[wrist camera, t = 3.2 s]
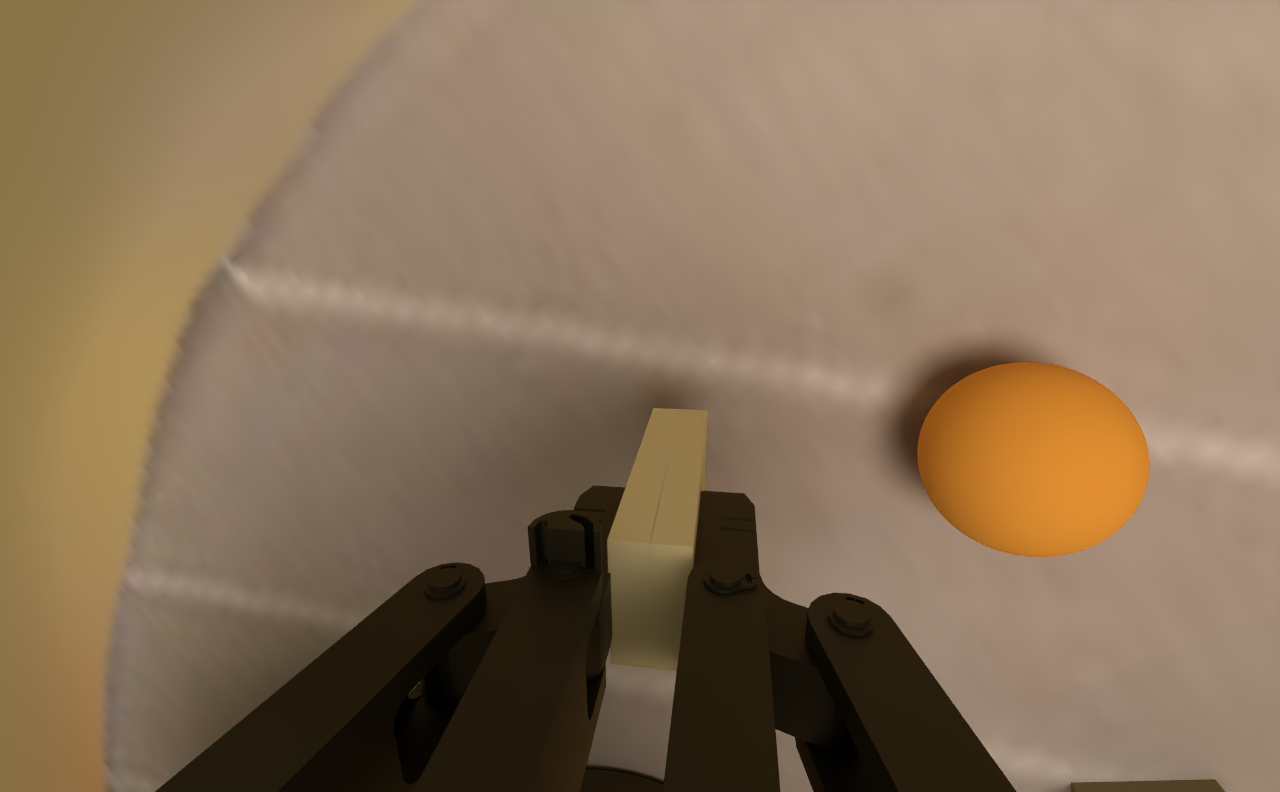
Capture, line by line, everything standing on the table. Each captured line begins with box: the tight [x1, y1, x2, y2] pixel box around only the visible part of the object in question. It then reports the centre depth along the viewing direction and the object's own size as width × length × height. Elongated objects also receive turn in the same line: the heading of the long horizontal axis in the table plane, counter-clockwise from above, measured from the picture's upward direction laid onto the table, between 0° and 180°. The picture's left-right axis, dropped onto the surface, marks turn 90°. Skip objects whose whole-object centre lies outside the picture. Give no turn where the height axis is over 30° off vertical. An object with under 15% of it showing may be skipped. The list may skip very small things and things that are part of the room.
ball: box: [917, 362, 1150, 557], centre depth 17 cm, size 6×6×6 cm
